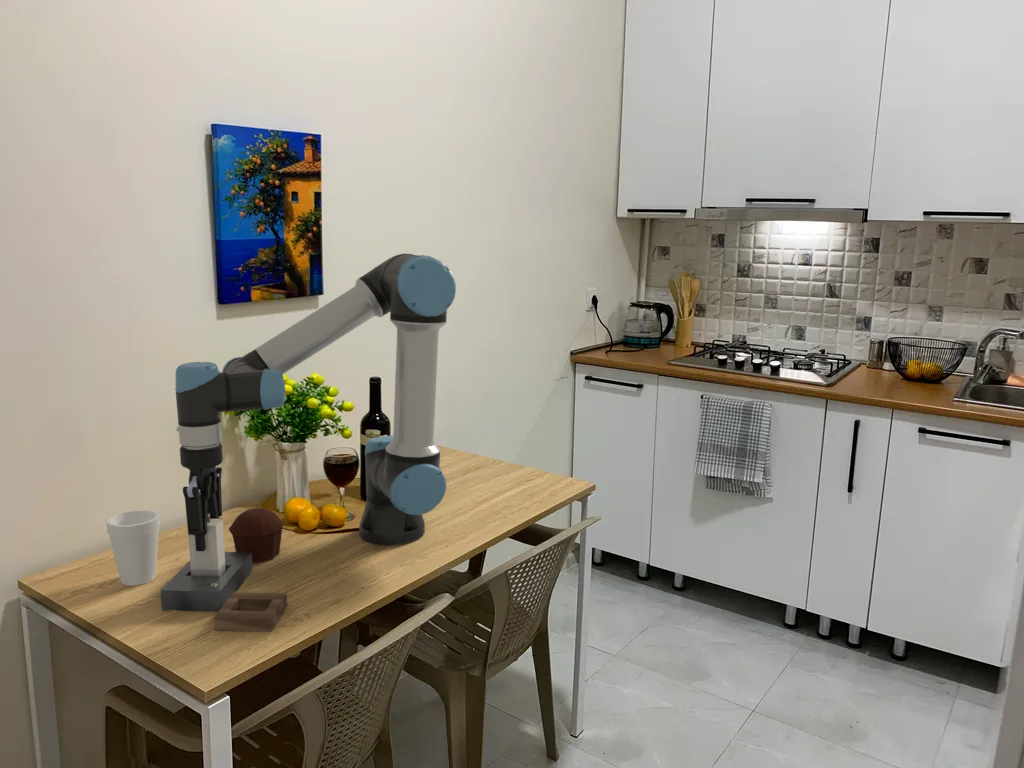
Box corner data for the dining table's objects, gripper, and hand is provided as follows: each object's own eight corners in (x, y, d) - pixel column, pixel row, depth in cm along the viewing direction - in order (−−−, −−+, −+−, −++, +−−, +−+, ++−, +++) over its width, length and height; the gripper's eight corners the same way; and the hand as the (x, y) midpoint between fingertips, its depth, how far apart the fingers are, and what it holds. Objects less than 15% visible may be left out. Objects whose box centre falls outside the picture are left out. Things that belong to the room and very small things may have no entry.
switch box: (199, 569, 168) (198, 550, 167) (252, 570, 168) (251, 551, 167) (161, 610, 150) (160, 589, 150) (220, 611, 150) (219, 590, 149)
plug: (198, 575, 161) (194, 510, 158) (226, 576, 160) (222, 511, 158) (191, 583, 157) (187, 517, 154) (219, 584, 157) (215, 518, 154)
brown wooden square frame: (234, 604, 153) (233, 592, 153) (287, 605, 153) (286, 593, 153) (214, 630, 143) (214, 617, 143) (271, 631, 143) (270, 618, 143)
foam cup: (160, 586, 160) (155, 524, 157) (108, 591, 157) (102, 528, 155) (165, 566, 169) (161, 507, 166) (117, 571, 166) (112, 511, 164)
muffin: (238, 544, 181) (235, 502, 179) (288, 543, 182) (287, 501, 180) (224, 567, 169) (222, 521, 167) (278, 565, 171) (276, 520, 169)
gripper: (198, 432, 162) (205, 543, 166) (161, 456, 145) (170, 578, 150) (235, 433, 161) (241, 544, 166) (203, 457, 145) (211, 579, 150)
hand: (208, 560), depth 158 cm, fingers closed on plug, 4 cm apart
